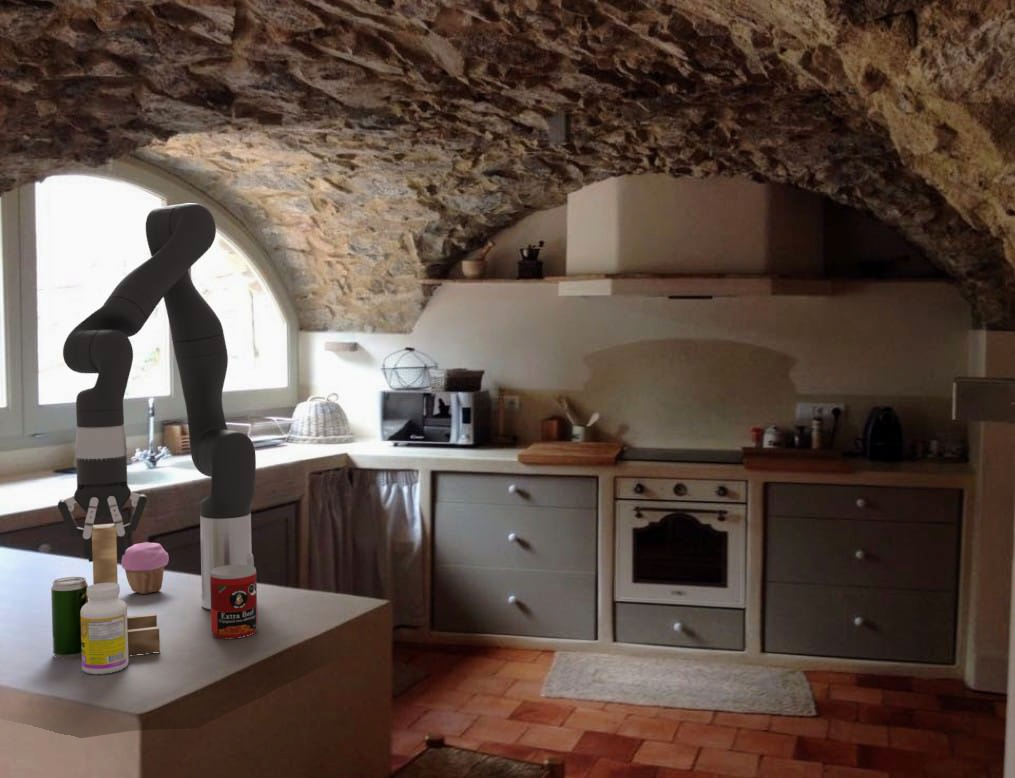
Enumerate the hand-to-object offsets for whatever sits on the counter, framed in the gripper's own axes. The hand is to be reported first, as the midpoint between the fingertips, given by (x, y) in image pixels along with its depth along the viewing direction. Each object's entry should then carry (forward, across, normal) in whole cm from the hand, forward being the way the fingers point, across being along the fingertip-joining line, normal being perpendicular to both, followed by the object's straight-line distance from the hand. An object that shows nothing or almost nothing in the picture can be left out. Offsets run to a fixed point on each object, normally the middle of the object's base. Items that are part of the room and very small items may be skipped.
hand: (104, 559), depth 161 cm
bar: (+14, 0, 0) cm, 14 cm away
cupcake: (+15, -7, -37) cm, 41 cm away
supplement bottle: (+15, 0, +10) cm, 18 cm away
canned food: (+15, -20, -2) cm, 25 cm away
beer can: (+15, +5, 0) cm, 16 cm away
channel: (+15, -3, 0) cm, 15 cm away
